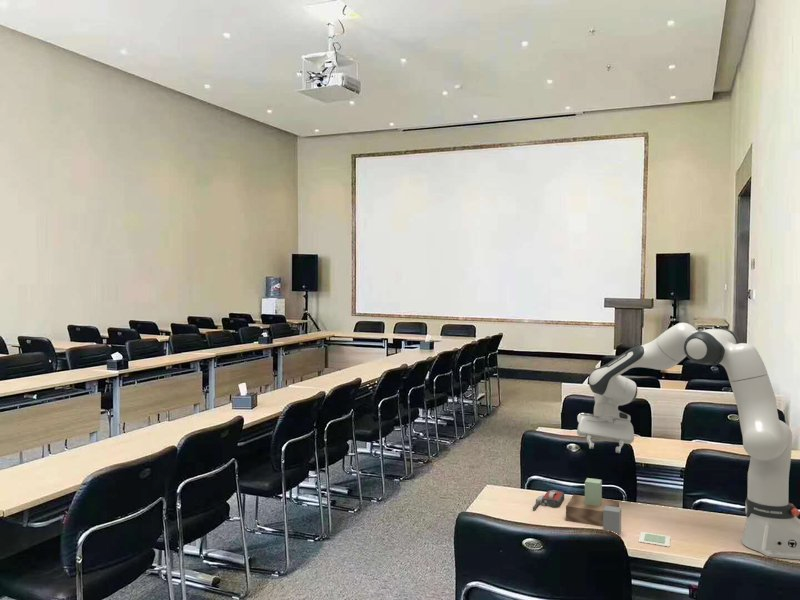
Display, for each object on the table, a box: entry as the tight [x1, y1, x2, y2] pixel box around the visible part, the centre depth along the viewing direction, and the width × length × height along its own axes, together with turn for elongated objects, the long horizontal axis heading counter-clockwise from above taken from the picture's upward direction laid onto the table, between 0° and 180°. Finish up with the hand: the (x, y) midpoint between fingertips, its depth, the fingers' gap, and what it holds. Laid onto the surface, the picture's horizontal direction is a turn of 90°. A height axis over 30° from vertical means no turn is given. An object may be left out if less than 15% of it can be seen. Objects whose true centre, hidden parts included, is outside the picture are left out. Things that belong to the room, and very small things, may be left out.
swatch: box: [638, 531, 672, 548], centre depth 202 cm, size 9×9×1 cm
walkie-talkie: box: [532, 489, 565, 511], centre depth 236 cm, size 9×4×20 cm
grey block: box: [602, 505, 622, 536], centre depth 207 cm, size 5×5×8 cm
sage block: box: [584, 477, 603, 507], centre depth 221 cm, size 5×5×8 cm
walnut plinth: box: [565, 494, 620, 527], centre depth 221 cm, size 16×14×5 cm
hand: (604, 450), depth 231 cm, fingers open, 8 cm apart
